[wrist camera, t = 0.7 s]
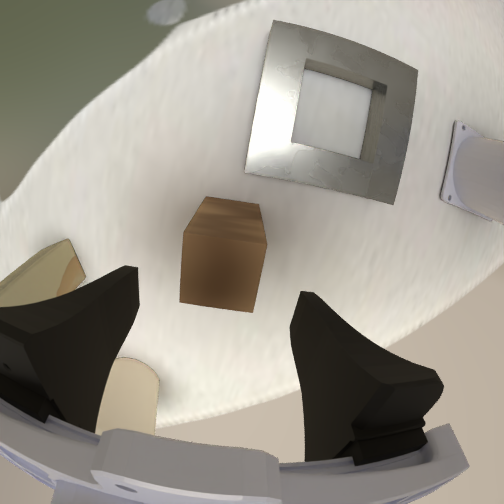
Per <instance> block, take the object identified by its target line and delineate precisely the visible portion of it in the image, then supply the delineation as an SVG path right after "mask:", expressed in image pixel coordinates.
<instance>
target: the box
mask: <svg viewBox="0 0 504 504" xmlns="http://www.w3.org/2000/svg"><path fill="white" fill-rule="evenodd" d="M85 278H86V276H85V274H84V272H83V269H82V267H81V265H80V263H79V261H78V259H77V256H76V254H75V252H74V250H73V247H72V245H71V243H70V240H69V239H66V240H63V241H60V242H58V243H55V244H53V245H51V246H49V247H47V248H45V249H43V250H41V251H39V252H38V253H37V254H35V255H34V256H33V257H31V258H30V259H29V260H27V261H26V262H25V263H23V264H22V265H21V266H20V267H18V268H17V269H16V270H15V271H13V272H12V273H11V274H10V275H8V276H7V277H6V278H5V279H4V280H2V281H1V282H0V307H9V306H19V305H26V304H31V303H36V302H40V301H44V300H47V299H51V298H55V297H58V296H61V295H63V294H66V293H69V292H71V291H74V290H75V289H76V288H77V287H78V285H79V284H80V283H81V282H82V281H83V280H84V279H85Z"/></svg>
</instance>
